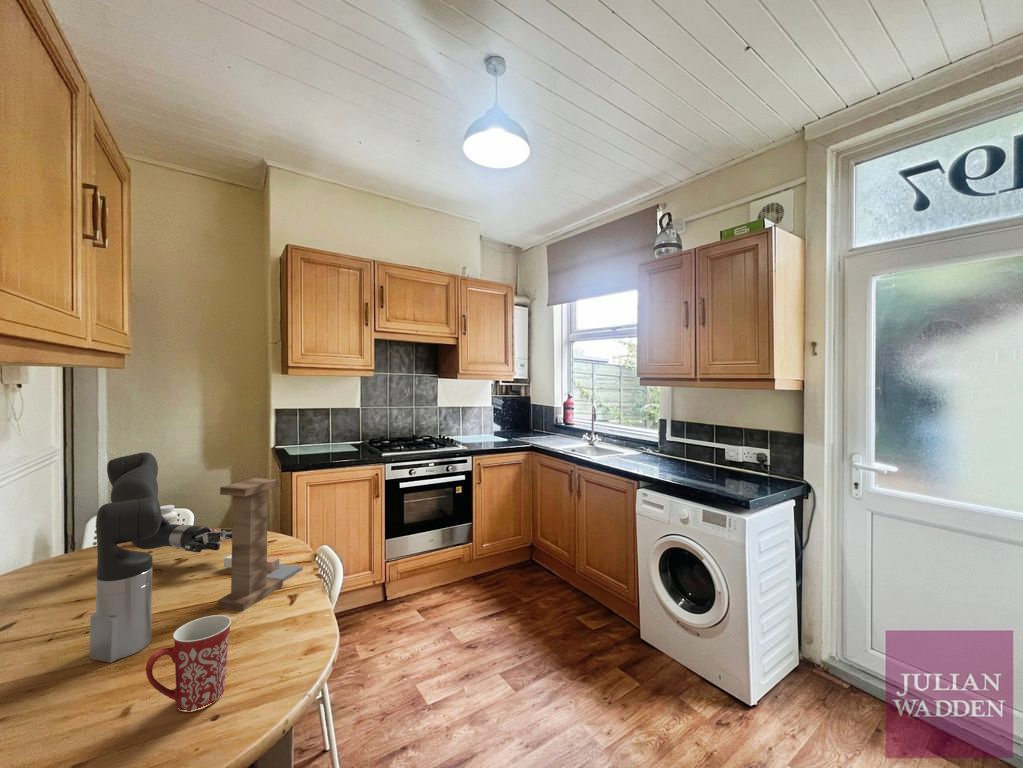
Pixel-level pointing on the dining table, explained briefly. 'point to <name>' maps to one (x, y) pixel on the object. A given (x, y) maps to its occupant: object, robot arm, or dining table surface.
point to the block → (271, 563)
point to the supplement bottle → (169, 513)
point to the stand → (249, 544)
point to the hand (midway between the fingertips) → (230, 541)
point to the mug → (196, 662)
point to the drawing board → (284, 572)
